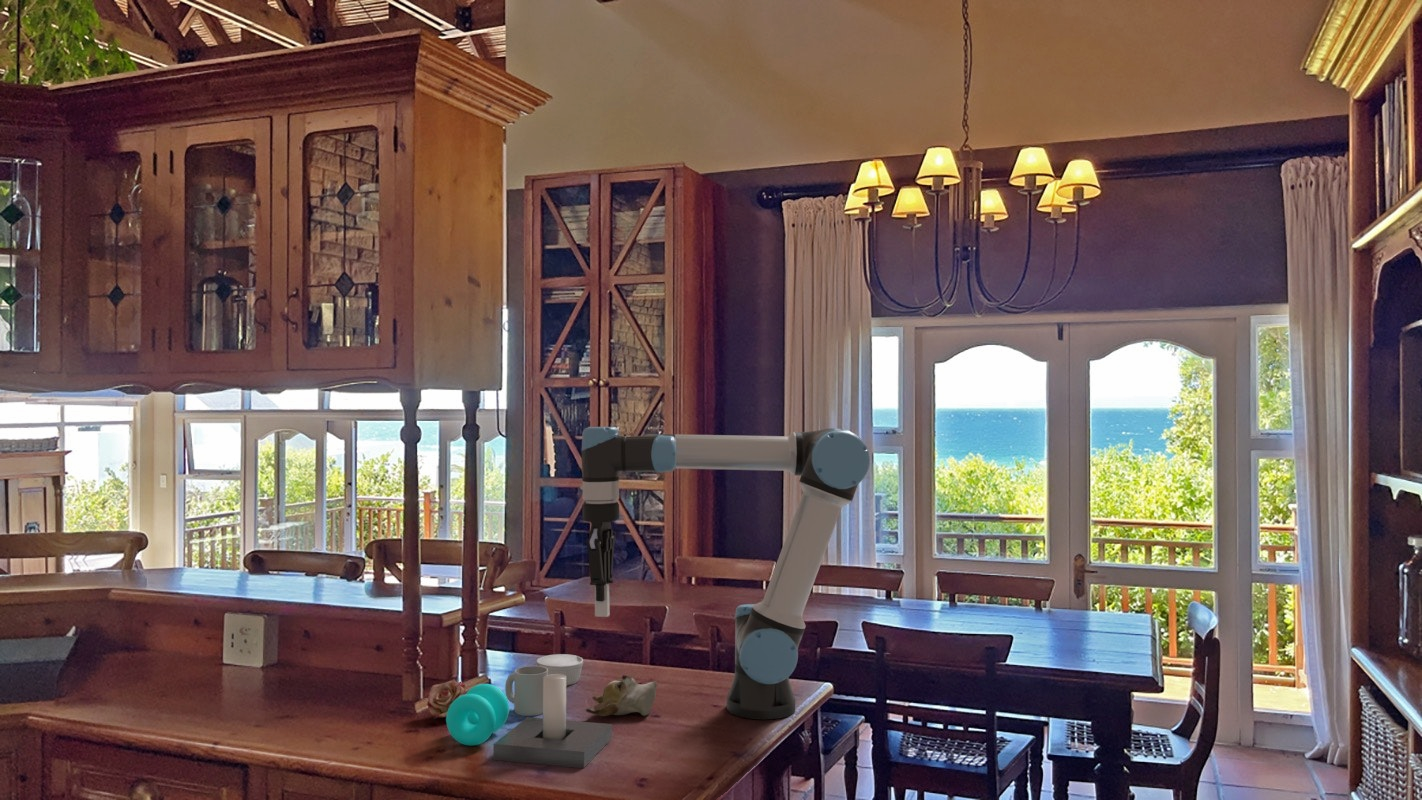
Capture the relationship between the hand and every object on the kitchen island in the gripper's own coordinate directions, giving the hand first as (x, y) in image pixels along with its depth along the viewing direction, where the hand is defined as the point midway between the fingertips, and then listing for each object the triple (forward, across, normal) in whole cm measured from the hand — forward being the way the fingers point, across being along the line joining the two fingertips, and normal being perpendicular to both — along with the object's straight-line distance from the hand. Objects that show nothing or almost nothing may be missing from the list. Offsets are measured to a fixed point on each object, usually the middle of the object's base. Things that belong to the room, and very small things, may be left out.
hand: (602, 615), depth 199 cm
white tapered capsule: (+23, +13, -6) cm, 27 cm away
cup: (+23, -8, -20) cm, 32 cm away
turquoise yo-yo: (+23, +10, -23) cm, 34 cm away
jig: (+23, +13, -6) cm, 27 cm away
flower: (+23, 0, -35) cm, 42 cm away
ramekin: (+24, -31, -21) cm, 44 cm away
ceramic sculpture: (+24, -11, +1) cm, 26 cm away
